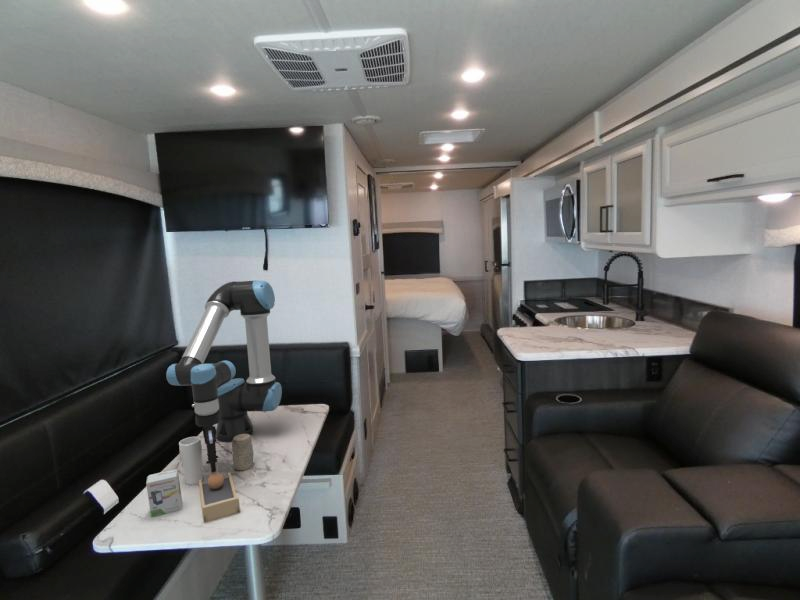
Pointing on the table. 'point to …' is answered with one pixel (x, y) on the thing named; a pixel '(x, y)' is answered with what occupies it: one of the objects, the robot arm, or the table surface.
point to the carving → (242, 452)
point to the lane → (219, 500)
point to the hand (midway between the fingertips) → (214, 479)
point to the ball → (215, 480)
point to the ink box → (164, 492)
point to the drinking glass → (191, 459)
